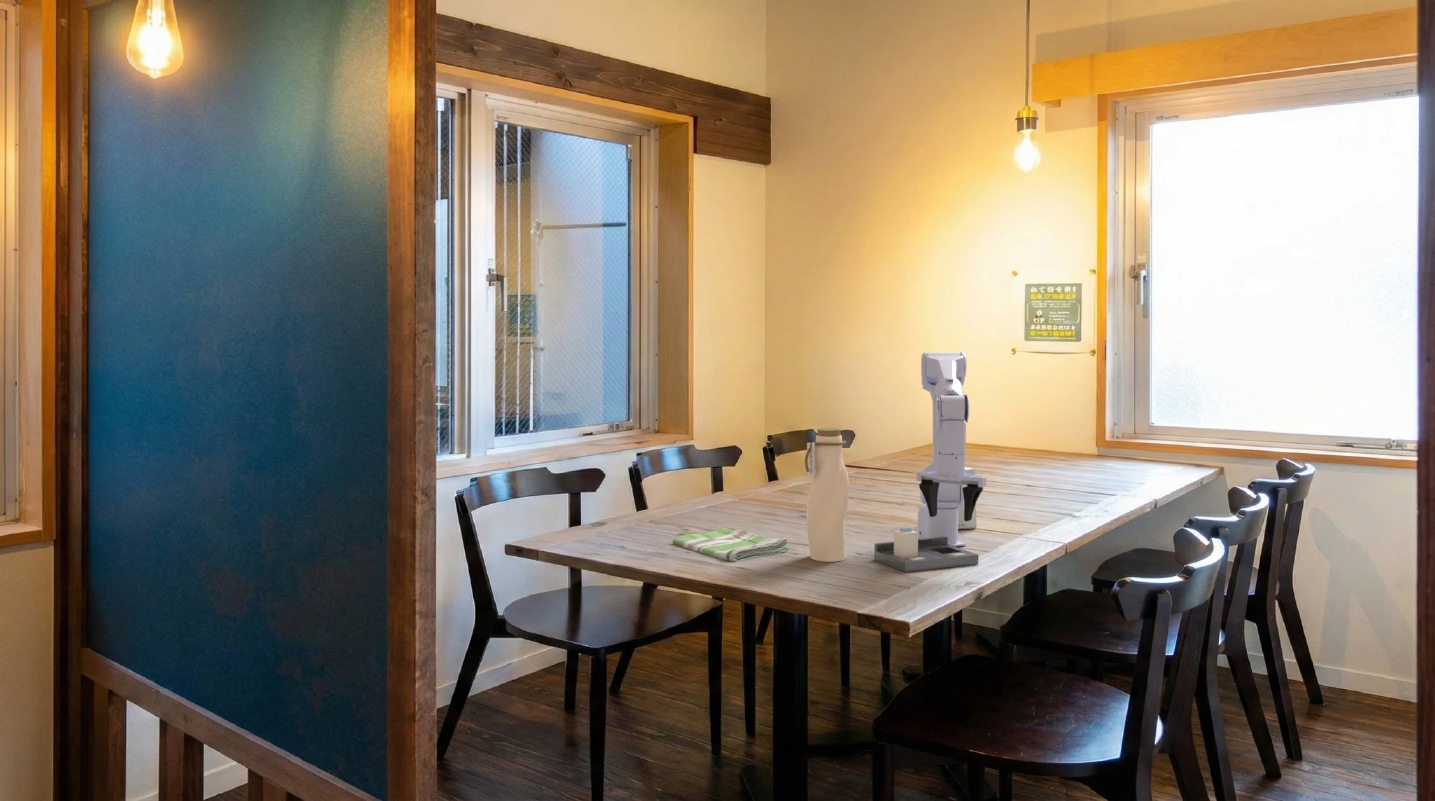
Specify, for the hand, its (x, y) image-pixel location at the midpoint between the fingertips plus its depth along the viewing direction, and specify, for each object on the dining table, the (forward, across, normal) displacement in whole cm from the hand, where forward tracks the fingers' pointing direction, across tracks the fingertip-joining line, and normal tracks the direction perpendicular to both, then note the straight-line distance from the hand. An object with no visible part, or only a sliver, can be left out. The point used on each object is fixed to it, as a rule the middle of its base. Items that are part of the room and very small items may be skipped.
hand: (950, 518), depth 207 cm
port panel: (+10, -6, +1) cm, 12 cm away
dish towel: (+11, -48, -12) cm, 51 cm away
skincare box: (+11, -16, +41) cm, 45 cm away
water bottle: (+10, -25, -8) cm, 28 cm away
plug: (+10, -9, -3) cm, 14 cm away
